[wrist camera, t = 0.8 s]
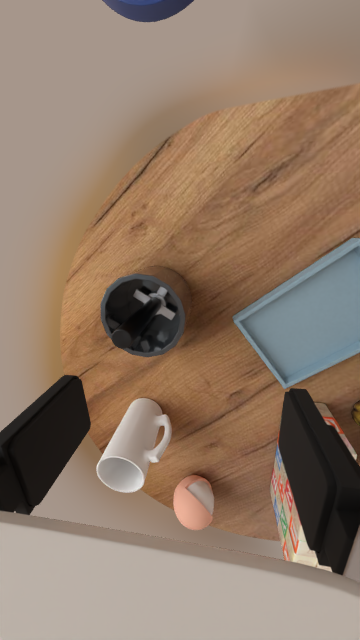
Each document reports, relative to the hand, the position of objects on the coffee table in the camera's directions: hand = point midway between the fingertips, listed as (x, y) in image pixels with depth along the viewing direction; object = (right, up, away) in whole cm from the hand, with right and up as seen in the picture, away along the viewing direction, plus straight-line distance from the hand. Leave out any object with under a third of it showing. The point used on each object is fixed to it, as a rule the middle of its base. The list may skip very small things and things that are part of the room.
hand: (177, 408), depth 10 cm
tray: (+18, +4, +21) cm, 28 cm away
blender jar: (-3, +7, +24) cm, 25 cm away
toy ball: (+3, -28, +35) cm, 45 cm away
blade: (-3, +7, +23) cm, 24 cm away
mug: (-5, -12, +31) cm, 34 cm away
